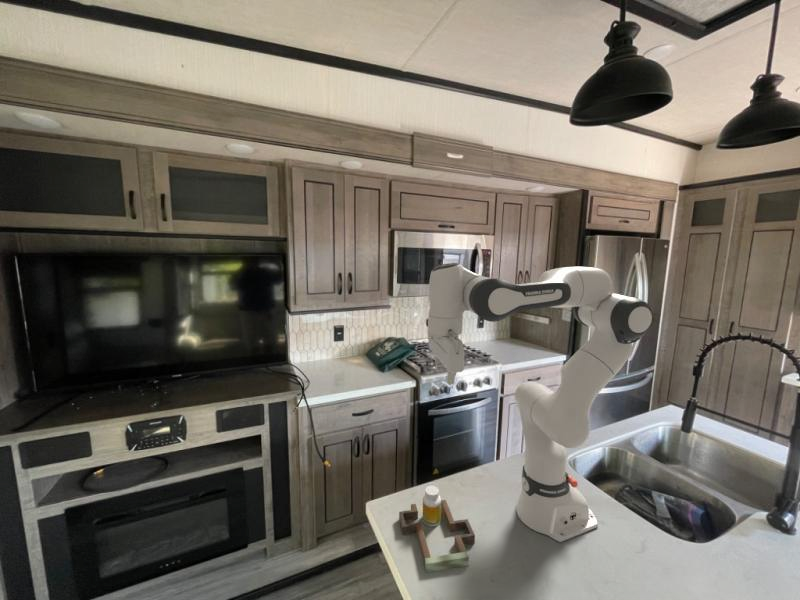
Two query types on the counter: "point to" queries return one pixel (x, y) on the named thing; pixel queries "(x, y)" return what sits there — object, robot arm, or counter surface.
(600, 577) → the counter surface
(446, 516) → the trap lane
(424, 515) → the supplement bottle
